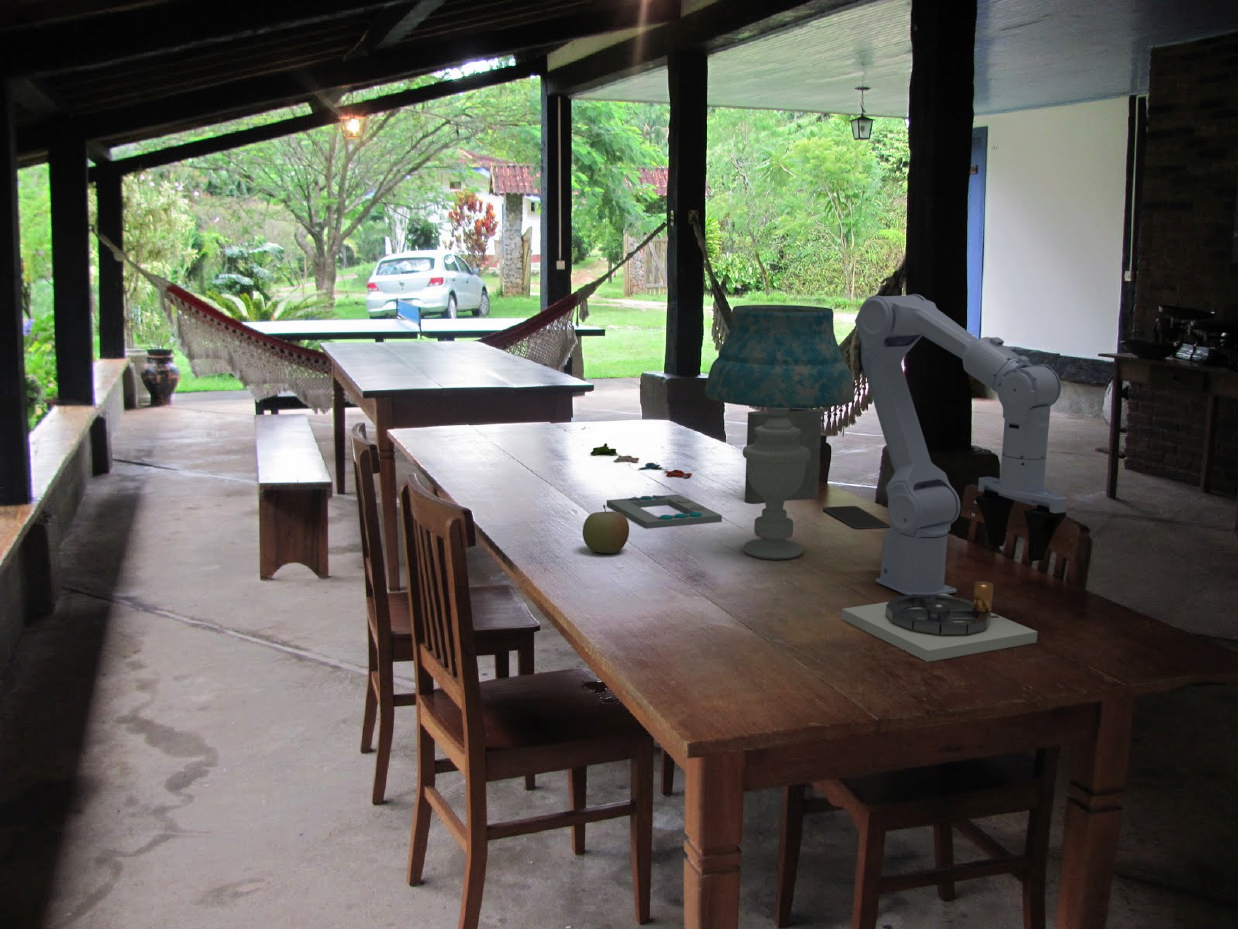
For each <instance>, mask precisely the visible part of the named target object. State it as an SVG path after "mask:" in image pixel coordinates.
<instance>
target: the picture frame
mask: <svg viewBox="0 0 1238 929" xmlns="http://www.w3.org/2000/svg"><path fill="white" fill-rule="evenodd" d="M663 506H664V507H665V506H668V507H671V508H672V509H673V510H676V511H678V512H680V513H675V514H673V515H672V514H671V515H670V514H661V515H659V516H656V515H654V514H652V513H651V512H649V511H647V510H645V509H643V508H653V507H663ZM606 507H607V508H609V509H611V510H612V511H615V512H619V513H622V514H623V515H624V516H625V517H626V518H627V520H629V521H631V522H633V523H635V524H637V525H639V526H640V527H642V528H644V529H645V530H651V529H658V528H671V527H680V526H691V525H692V526H693V525H702V524H715V523H722V522H723V515H722V514H721V513H718V512H715V511H713V510H711V509H709V508H707V507H705V506H704V505H702V504H699V503H697V502H695V501H693V500H691V499H689V498H687V497H685V496H682V495H680V494H679V493H677V494H669V495H668V494H666V495H659V494H658V495H657V494H655V495H654V494H653V495H652V496H651V495H642V496H640V497H638V496H633V497H628V498H617V499H616V498H615V499H606Z"/></svg>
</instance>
